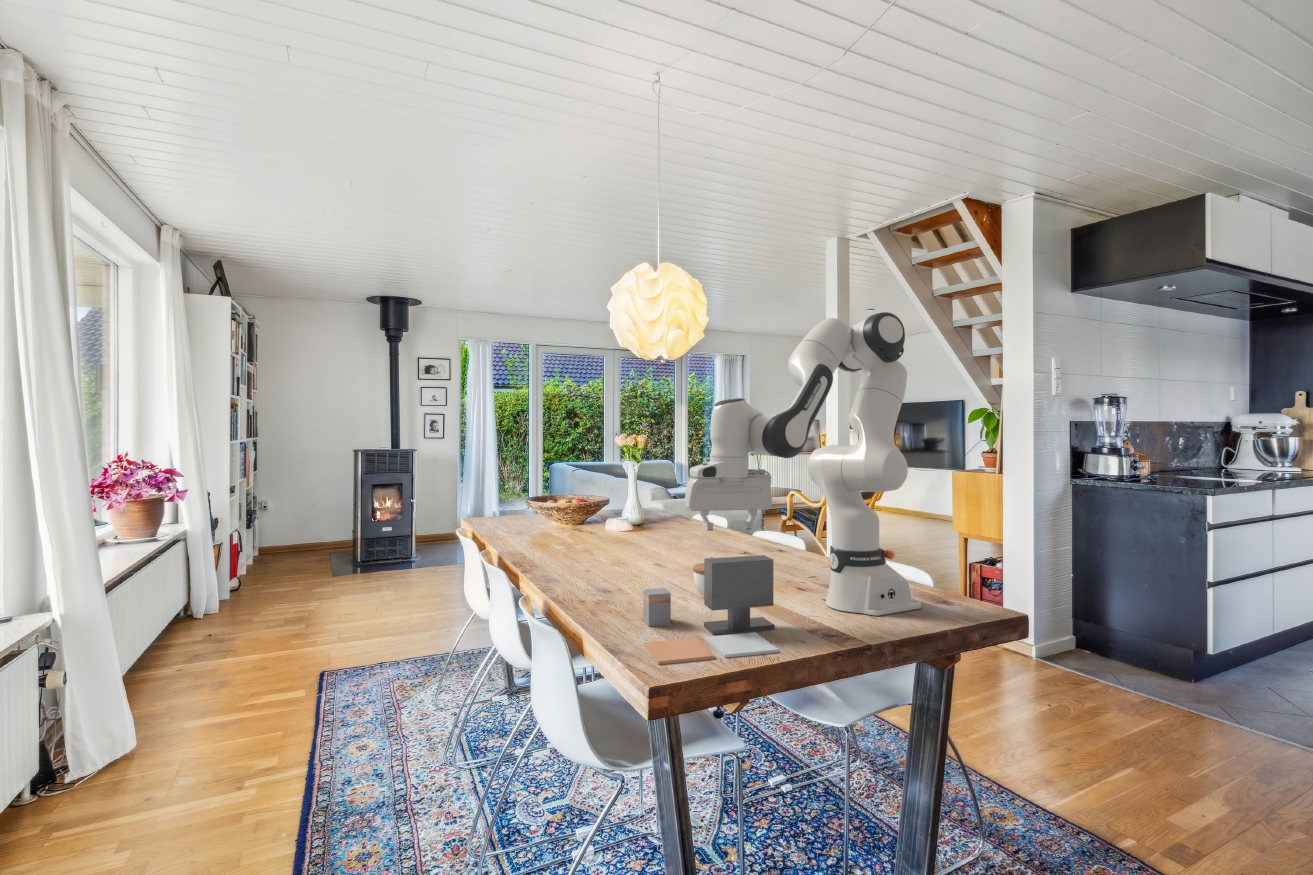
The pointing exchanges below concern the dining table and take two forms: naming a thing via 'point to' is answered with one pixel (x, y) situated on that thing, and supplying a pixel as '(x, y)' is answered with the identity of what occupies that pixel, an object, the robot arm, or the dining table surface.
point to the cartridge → (657, 607)
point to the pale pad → (741, 645)
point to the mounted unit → (738, 592)
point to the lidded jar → (699, 577)
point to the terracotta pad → (678, 651)
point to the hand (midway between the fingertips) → (728, 529)
